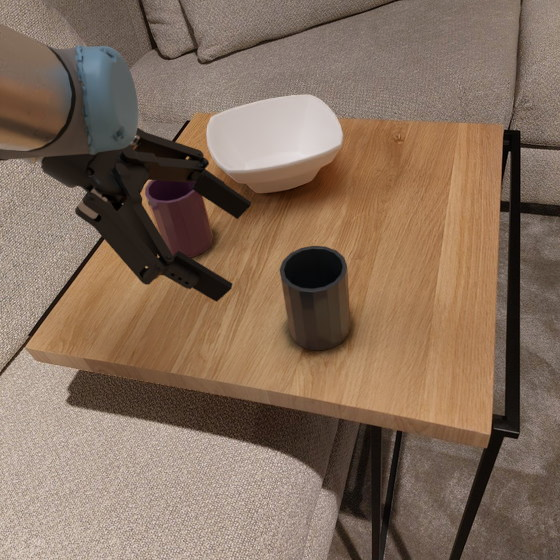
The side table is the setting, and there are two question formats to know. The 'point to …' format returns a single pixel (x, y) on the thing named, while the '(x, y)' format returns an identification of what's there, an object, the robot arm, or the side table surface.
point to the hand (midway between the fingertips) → (235, 248)
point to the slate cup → (316, 297)
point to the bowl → (275, 141)
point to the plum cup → (180, 216)
